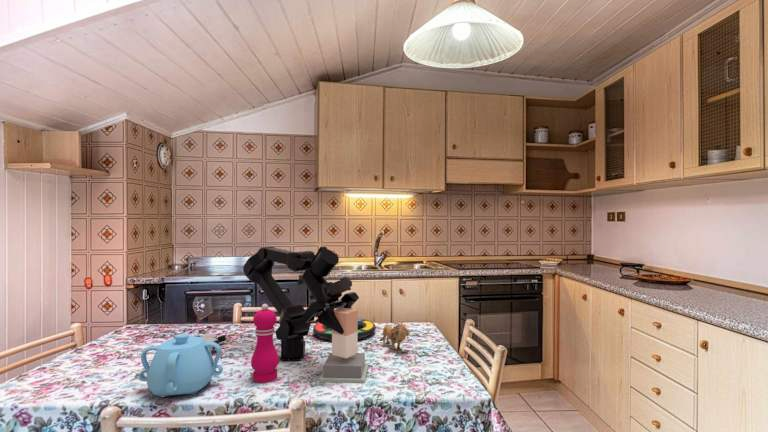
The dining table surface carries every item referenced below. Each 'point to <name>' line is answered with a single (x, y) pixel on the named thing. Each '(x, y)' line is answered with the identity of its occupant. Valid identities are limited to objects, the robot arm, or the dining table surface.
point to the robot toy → (213, 339)
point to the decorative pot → (180, 365)
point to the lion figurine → (395, 335)
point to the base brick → (345, 369)
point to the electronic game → (363, 331)
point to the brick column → (346, 333)
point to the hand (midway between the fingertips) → (348, 330)
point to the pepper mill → (264, 347)
